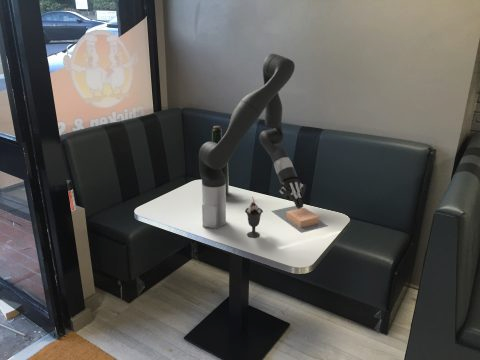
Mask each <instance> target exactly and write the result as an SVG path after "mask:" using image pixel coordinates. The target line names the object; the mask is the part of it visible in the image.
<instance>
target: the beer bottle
mask: <svg viewBox="0 0 480 360" xmlns="http://www.w3.org/2000/svg"><path fill="white" fill-rule="evenodd" d="M222 131H223V130H222V128H221V126H220V125H214V126H213V127H212V130H211V142H215V143H217V144H218V142H219V141H220V140H221V139H222V137H223V136H222V133H223V132H222ZM221 169H222V172H223V174H224V175H225V178H226V197H227V196H228V195H229V193H230V192H229V191H230V190H229V188H230V187H229V183H230V182H229V162H228V163H227V164H226V165H225V166H224V167H223V168H221Z"/></svg>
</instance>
